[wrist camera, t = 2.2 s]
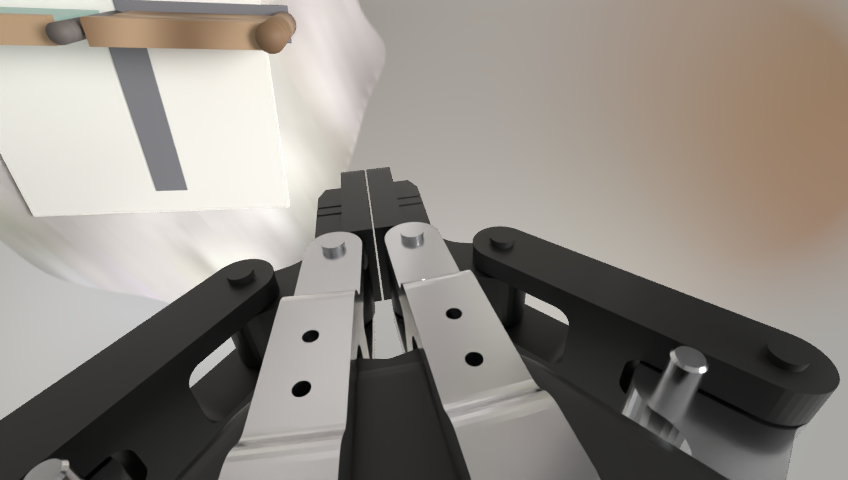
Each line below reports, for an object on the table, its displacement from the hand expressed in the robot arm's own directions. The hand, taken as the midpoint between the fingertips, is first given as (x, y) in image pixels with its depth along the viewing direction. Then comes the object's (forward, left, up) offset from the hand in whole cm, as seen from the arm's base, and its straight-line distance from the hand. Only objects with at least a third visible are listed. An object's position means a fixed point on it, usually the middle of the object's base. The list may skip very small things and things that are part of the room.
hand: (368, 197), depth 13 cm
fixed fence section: (-11, +2, -26) cm, 28 cm away
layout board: (-18, -2, -26) cm, 32 cm away
